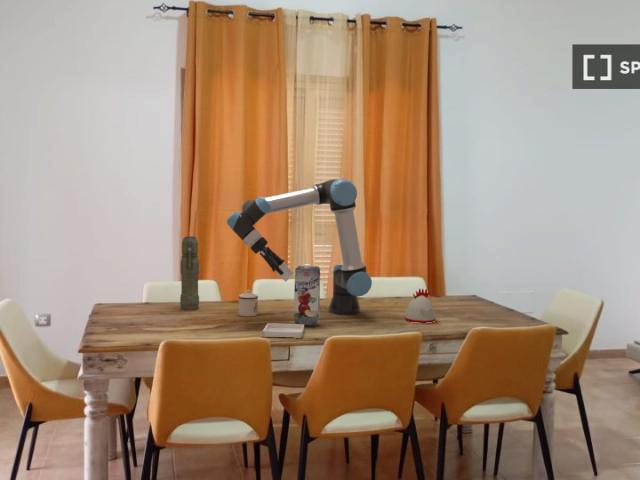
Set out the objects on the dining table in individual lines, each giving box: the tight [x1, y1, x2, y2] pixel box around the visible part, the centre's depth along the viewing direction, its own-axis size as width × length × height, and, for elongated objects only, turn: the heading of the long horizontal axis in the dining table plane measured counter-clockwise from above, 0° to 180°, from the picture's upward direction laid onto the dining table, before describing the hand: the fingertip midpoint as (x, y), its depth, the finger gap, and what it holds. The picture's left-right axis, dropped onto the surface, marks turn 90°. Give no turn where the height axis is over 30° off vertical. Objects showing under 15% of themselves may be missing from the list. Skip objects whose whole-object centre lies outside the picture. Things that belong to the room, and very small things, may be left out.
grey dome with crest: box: [404, 288, 437, 323], centre depth 282 cm, size 14×14×15 cm
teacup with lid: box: [238, 289, 259, 318], centre depth 289 cm, size 12×9×12 cm
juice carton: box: [293, 263, 321, 328], centre depth 268 cm, size 9×10×27 cm
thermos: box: [179, 236, 200, 311], centre depth 297 cm, size 9×12×35 cm
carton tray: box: [262, 322, 305, 338], centre depth 252 cm, size 16×15×2 cm
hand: (289, 277), depth 267 cm, fingers open, 13 cm apart
